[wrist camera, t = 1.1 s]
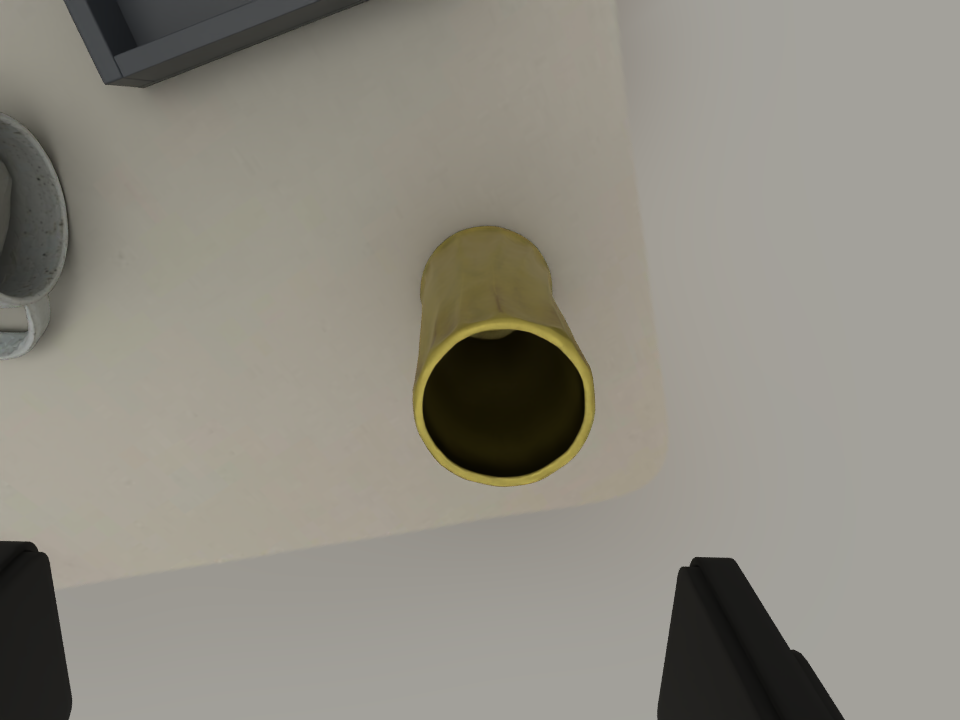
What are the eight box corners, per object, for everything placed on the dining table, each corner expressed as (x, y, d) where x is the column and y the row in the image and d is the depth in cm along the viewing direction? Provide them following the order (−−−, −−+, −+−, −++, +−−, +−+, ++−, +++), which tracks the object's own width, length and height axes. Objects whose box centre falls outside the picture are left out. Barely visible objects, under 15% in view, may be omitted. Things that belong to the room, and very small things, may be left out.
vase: (553, 348, 35) (612, 495, 22) (426, 357, 35) (405, 509, 22) (549, 221, 33) (612, 295, 20) (414, 229, 33) (385, 310, 20)
